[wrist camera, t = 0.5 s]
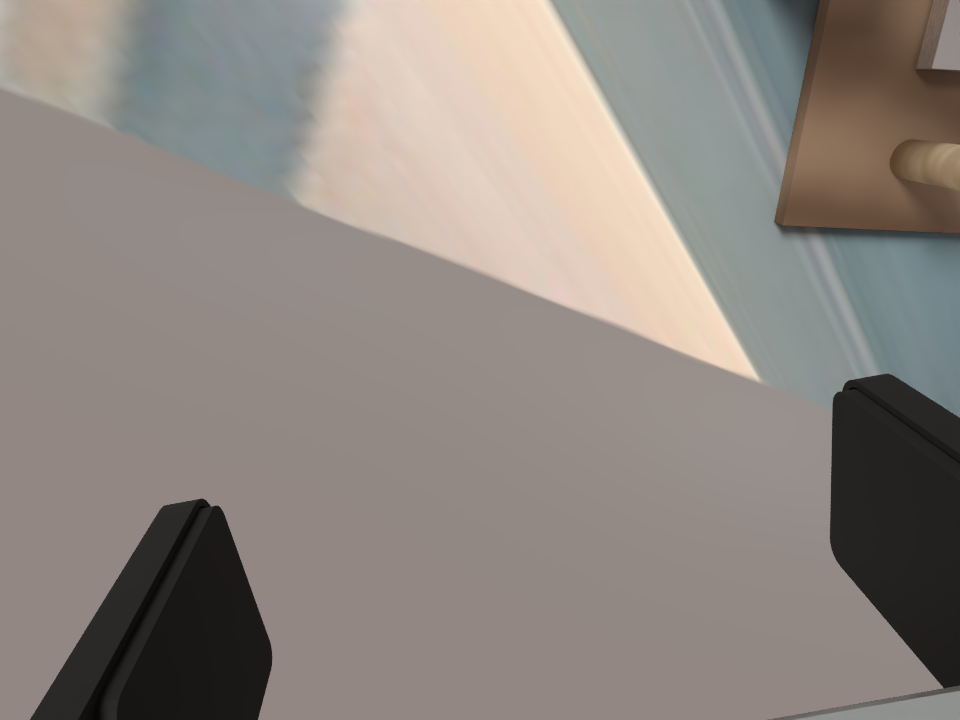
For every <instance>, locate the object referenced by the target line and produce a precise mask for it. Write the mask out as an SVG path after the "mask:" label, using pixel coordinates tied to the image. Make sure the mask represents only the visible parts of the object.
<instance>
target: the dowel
mask: <svg viewBox="0 0 960 720" xmlns="http://www.w3.org/2000/svg"><path fill="white" fill-rule="evenodd" d="M890 169H891V171H892V173H893V174H894V175H895V176H896V177H898V178H900V179H905V180H910V181H915V182H920V183H925V184H929V185H934V186H939V187H944V188H949V189H954V190H958V191H960V145H958V144H950V143H941V142H933V141H925V140H916V139H910V140H906V141H904V142H902V143H901V144H899V145H898V146H897V147H896V148H895V150H894V151H893V153H892V155H891V158H890Z"/></svg>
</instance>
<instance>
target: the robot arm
mask: <svg viewBox="0 0 960 720" xmlns="http://www.w3.org/2000/svg"><path fill="white" fill-rule="evenodd" d="M831 470H832V471H831V518H830V519H831V521H830V543H831V547H832V551H833V554H834V556H835V558H836V560H837V562H838V563H839V565H840V566H841V567H842V569H843V570H844V571H845V572H846V573H847V574H848V576H849V577H850V578H851V579H852V580H853V581H854V582H855V584H856V585H857V586H858V587H859V589H860V590H861V591H862V592H863V593H864V594H865V596H866V597H867V598H868V599H869V600H870V602H871V603H872V604H873V605H874V606H875V607H876V609H877V610H878V611H879V612H880V613H881V614H882V616H883V617H884V618H885V619H886V620H887V622H888V623H889V624H890V625H891V626H892V627H893V629H894V630H895V631H896V632H897V633H898V635H899V636H900V637H901V638H902V639H903V640H904V642H905V643H906V644H907V645H908V646H909V648H910V649H911V650H912V651H913V652H914V653H915V655H916V656H917V657H918V658H919V659H920V660H921V661H922V663H923V664H924V665H925V666H926V667H927V669H928V670H929V671H930V672H931V673H932V675H933V676H934V677H935V678H936V679H937V680H938V682H939V683H940V684H941V685H942V686H943V688H944V689H938V690H933V691H927V692H921V693H916V694H910V695H905V696H899V697H893V698H888V699H882V700H876V701H871V702H865V703H860V704H854V705H848V706H843V707H837V708H831V709H826V710H820V711H814V712H809V713H803V714H797V715H793V716H786V717H781V718H775V719H769V720H960V418H959V417H957V416H956V415H954V414H953V413H951V412H950V411H948V410H946V409H945V408H943V407H942V406H940V405H939V404H937V403H936V402H934V401H932V400H931V399H929V398H928V397H926V396H925V395H923V394H921V393H920V392H918V391H917V390H915V389H914V388H912V387H910V386H909V385H907V384H906V383H904V382H903V381H901V380H899V379H898V378H896V377H895V376H893V375H890V374H882V375H877V376H871V377H866V378H860V379H855V380H849V381H848V382H846V383H845V385H844V387H843V391H842V392H837V393H836V394H835V396H834V398H833V418H832V467H831ZM271 666H272V650H271V644H270V640H269V638H268V635H267V632H266V629H265V626H264V624H263V621H262V618H261V615H260V613H259V610H258V607H257V604H256V602H255V599H254V596H253V593H252V590H251V587H250V585H249V582H248V579H247V577H246V574H245V571H244V568H243V565H242V562H241V560H240V557H239V554H238V551H237V548H236V546H235V543H234V540H233V537H232V535H231V532H230V529H229V526H228V523H227V521H226V518H225V515H224V513H223V511H222V509H221V508H220V507H219V506H212V507H211V506H210V505H209V504H208V502H207V501H206V500H204V499H198V500H192V501H187V502H181V503H176V504H170V505H166V506H163V507H162V508H161V509H160V511H159V513H158V514H157V516H156V517H155V519H154V521H153V522H152V524H151V525H150V527H149V528H148V530H147V532H146V534H145V535H144V537H143V538H142V540H141V541H140V543H139V545H138V546H137V548H136V550H135V551H134V553H133V554H132V556H131V558H130V559H129V561H128V562H127V564H126V566H125V567H124V569H123V570H122V572H121V574H120V575H119V577H118V579H117V580H116V582H115V583H114V585H113V587H112V588H111V590H110V591H109V593H108V595H107V596H106V598H105V600H104V601H103V603H102V605H101V606H100V608H99V609H98V611H97V612H96V614H95V616H94V617H93V619H92V621H91V622H90V624H89V625H88V627H87V629H86V630H85V632H84V634H83V635H82V637H81V638H80V640H79V642H78V643H77V645H76V647H75V648H74V650H73V651H72V653H71V655H70V656H69V658H68V659H67V661H66V663H65V664H64V666H63V668H62V669H61V671H60V672H59V674H58V675H57V677H56V679H55V680H54V682H53V684H52V685H51V687H50V689H49V690H48V692H47V693H46V695H45V696H44V698H43V700H42V702H41V703H40V705H39V706H38V708H37V709H36V711H35V713H34V714H33V716H32V717H31V719H30V720H258V717H259V713H260V709H261V705H262V702H263V698H264V694H265V690H266V687H267V683H268V679H269V675H270V671H271Z"/></svg>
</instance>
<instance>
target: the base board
mask: <svg viewBox="0 0 960 720" xmlns="http://www.w3.org/2000/svg"><path fill="white" fill-rule="evenodd" d="M932 4H933V0H820V2H819V7H818V12H817V16H816V21H815V26H814V31H813V36H812V41H811V46H810V51H809V55H808V60H807V65H806V70H805V75H804V80H803V85H802V90H801V94H800V99H799V104H798V109H797V114H796V119H795V124H794V129H793V133H792V138H791V143H790V148H789V153H788V158H787V163H786V168H785V172H784V177H783V182H782V187H781V192H780V197H779V202H778V207H777V211H776V216H775V221H774V222H776V223H778V224H781V225H787V226H808V227H830V228H852V229H873V230H895V231H916V232H938V233H959V234H960V191H958V190H954V189H949V188H944V187H939V186H934V185H929V184H925V183H920V182H915V181H910V180H905V179H900V178H898V177H896V176H895V175H894V174H893V173H892V171H891V169H890V158H891V155H892V153H893V151H894V150H895V148H896V147H897V146H898V145H899V144H901V143H902V142H904V141H906V140H910V139H916V140H925V141H933V142H941V143H950V144H958V145H960V72H956V71H941V70H926V69H916V66H917V62H918V58H919V54H920V51H921V47H922V43H923V39H924V35H925V31H926V27H927V23H928V19H929V15H930V12H931V8H932Z"/></svg>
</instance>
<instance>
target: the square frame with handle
mask: <svg viewBox="0 0 960 720" xmlns="http://www.w3.org/2000/svg"><path fill="white" fill-rule="evenodd" d="M916 69H926V70H941V71H956V72H960V0H933V4H932V8H931V12H930V15H929V19H928V23H927V27H926V31H925V35H924V39H923V43H922V47H921V51H920V54H919V58H918V62H917V66H916Z"/></svg>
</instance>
